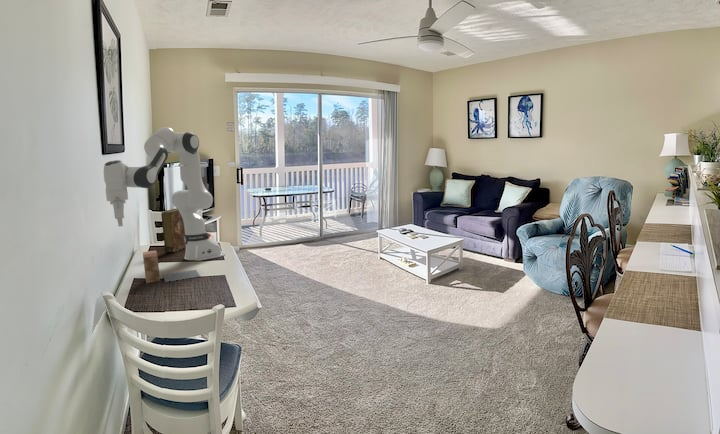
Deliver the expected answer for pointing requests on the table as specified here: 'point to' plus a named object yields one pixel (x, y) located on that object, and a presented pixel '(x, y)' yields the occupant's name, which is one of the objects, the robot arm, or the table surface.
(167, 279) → the mat
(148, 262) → the walnut block
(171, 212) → the book
